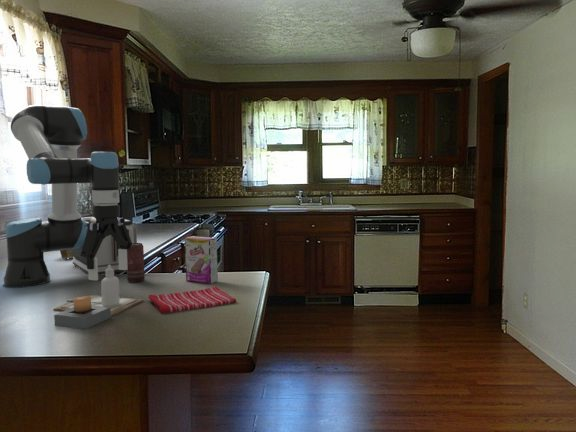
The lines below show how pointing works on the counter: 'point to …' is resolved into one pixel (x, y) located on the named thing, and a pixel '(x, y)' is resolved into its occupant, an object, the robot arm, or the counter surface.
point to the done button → (82, 303)
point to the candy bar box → (201, 259)
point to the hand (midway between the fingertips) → (108, 274)
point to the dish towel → (190, 300)
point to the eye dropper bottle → (110, 288)
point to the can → (135, 263)
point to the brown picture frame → (97, 301)
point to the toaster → (104, 250)
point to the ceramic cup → (66, 254)
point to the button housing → (82, 317)
